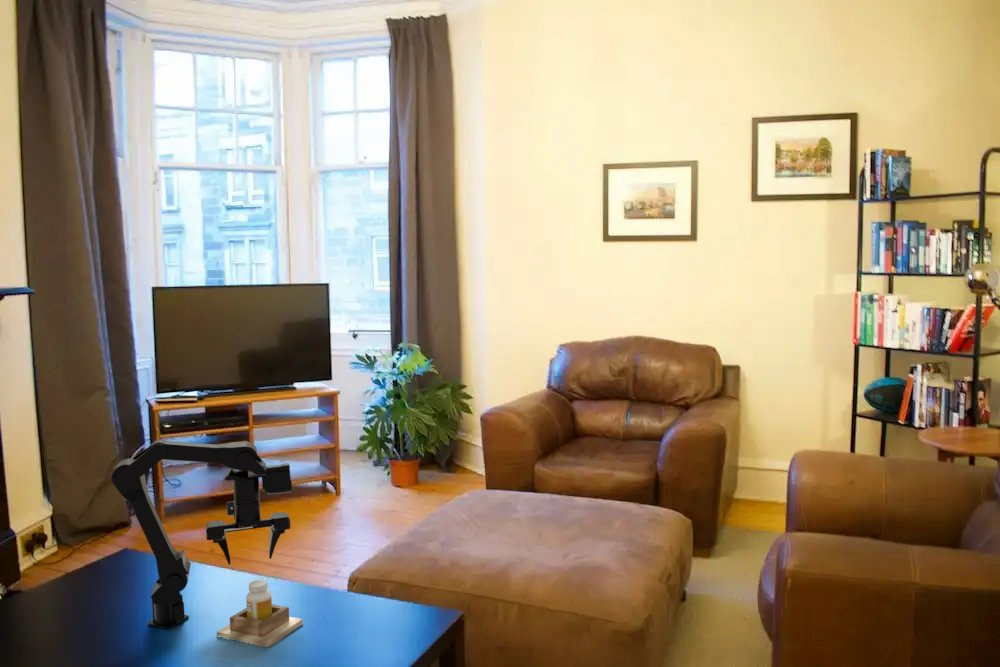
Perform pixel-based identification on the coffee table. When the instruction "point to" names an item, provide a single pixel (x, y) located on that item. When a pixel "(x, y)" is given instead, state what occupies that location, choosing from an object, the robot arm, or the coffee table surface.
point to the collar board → (261, 627)
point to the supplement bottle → (258, 600)
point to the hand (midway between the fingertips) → (249, 561)
